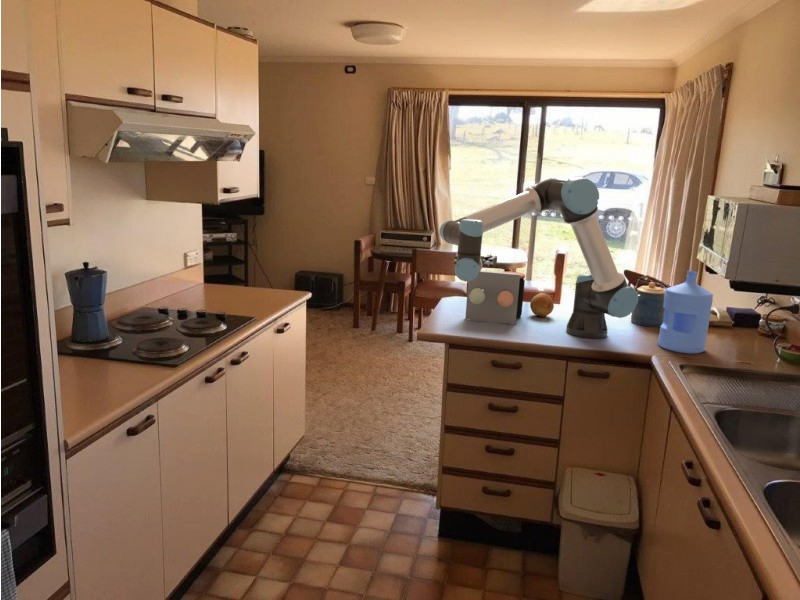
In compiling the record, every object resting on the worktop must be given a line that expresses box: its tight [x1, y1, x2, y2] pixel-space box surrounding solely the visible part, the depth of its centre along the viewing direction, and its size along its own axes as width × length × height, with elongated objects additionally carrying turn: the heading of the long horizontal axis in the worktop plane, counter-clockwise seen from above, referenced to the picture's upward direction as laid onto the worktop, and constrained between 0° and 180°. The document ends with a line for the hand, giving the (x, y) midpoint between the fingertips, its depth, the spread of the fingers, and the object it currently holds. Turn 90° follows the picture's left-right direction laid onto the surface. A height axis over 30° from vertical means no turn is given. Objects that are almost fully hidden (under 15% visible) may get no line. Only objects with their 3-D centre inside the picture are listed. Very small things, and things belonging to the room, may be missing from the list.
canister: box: [630, 281, 666, 328], centre depth 254 cm, size 13×13×18 cm
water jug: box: [657, 270, 714, 354], centre depth 219 cm, size 16×16×28 cm
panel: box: [465, 270, 520, 325], centre depth 245 cm, size 3×20×20 cm, turn 77°
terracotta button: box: [498, 291, 513, 307], centre depth 240 cm, size 8×6×6 cm
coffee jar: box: [504, 271, 526, 319], centre depth 256 cm, size 11×11×18 cm
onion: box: [529, 292, 555, 318], centre depth 258 cm, size 10×10×10 cm
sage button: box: [469, 288, 485, 304], centre depth 243 cm, size 8×6×6 cm
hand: (478, 255), depth 229 cm, fingers open, 8 cm apart
